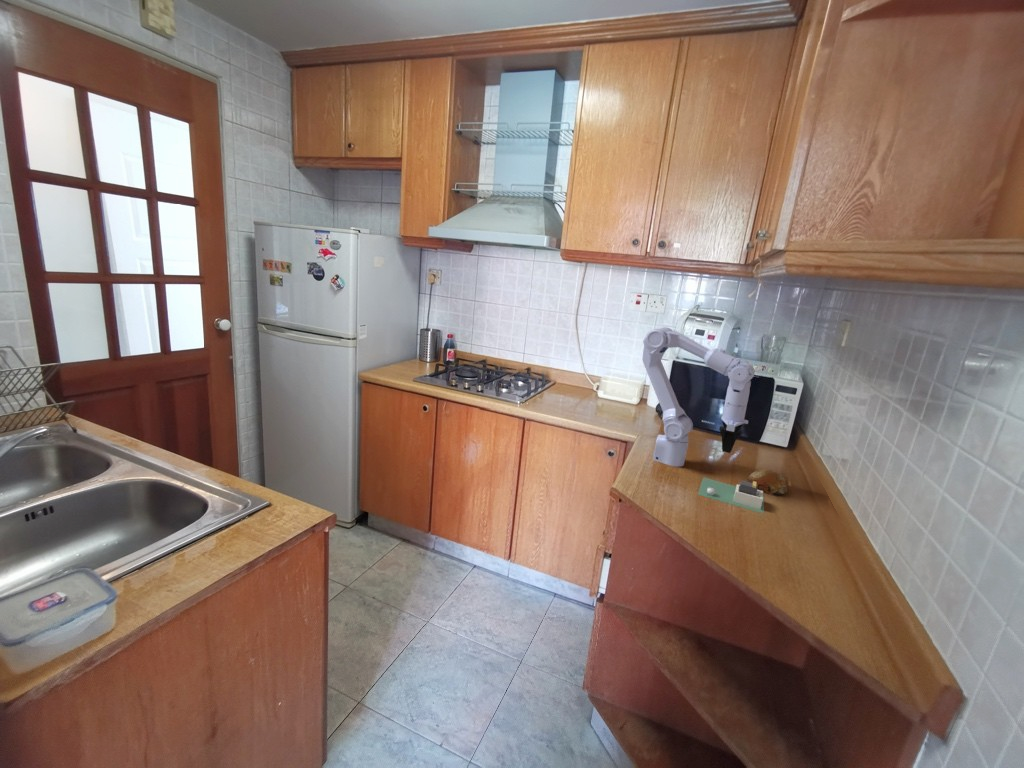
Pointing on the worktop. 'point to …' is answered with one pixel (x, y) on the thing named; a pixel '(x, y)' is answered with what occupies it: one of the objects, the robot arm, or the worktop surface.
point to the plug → (748, 487)
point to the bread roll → (769, 482)
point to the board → (723, 493)
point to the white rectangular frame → (748, 498)
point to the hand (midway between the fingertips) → (727, 447)
